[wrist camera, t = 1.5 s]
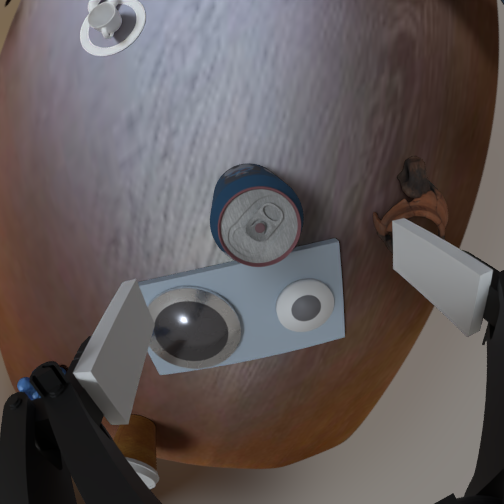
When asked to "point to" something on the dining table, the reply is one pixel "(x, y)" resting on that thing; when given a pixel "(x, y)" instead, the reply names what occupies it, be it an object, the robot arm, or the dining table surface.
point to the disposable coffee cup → (139, 447)
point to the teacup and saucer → (110, 25)
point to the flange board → (271, 301)
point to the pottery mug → (414, 201)
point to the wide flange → (193, 327)
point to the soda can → (255, 216)
